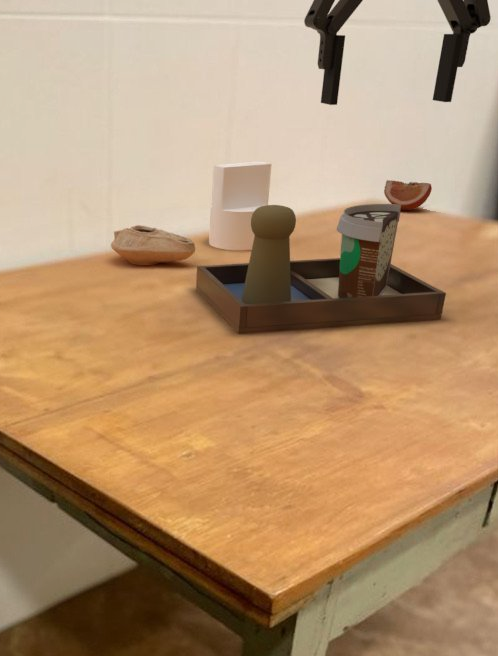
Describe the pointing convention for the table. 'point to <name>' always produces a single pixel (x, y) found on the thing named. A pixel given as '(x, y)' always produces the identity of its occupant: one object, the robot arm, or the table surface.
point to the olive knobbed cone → (270, 256)
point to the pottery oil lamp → (151, 245)
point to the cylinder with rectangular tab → (237, 202)
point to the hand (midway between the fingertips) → (385, 102)
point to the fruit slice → (407, 193)
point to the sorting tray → (317, 299)
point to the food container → (366, 248)
